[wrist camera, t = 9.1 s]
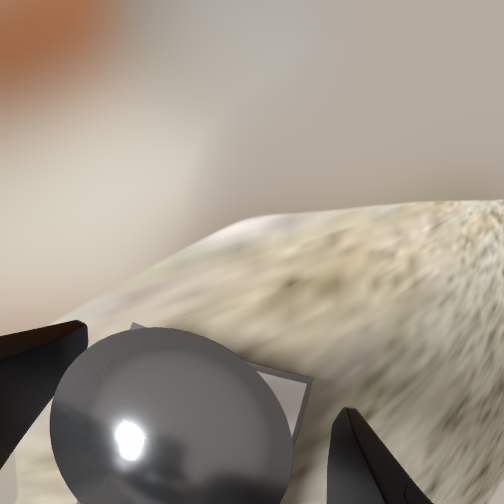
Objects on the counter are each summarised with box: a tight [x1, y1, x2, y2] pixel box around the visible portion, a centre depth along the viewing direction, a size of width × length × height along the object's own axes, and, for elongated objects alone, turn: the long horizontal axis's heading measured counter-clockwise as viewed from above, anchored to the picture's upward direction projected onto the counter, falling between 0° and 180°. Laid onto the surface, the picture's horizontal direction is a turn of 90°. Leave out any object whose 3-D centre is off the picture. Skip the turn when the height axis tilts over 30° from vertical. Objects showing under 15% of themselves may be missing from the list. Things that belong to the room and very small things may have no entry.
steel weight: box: [50, 327, 293, 504], centre depth 9 cm, size 4×4×12 cm
